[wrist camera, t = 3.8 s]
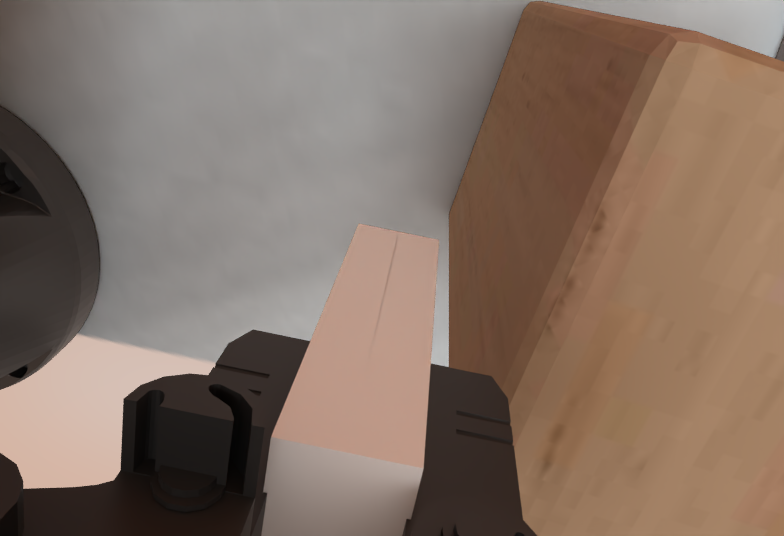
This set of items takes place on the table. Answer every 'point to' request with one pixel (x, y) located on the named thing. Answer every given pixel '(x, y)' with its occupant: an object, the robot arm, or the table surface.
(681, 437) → the wooden block
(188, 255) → the table surface
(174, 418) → the robot arm
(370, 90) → the table surface
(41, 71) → the table surface
